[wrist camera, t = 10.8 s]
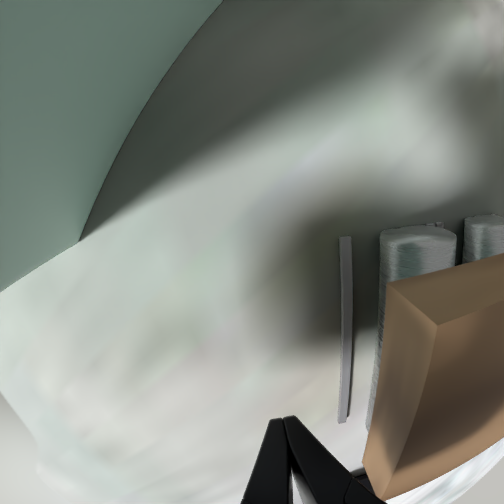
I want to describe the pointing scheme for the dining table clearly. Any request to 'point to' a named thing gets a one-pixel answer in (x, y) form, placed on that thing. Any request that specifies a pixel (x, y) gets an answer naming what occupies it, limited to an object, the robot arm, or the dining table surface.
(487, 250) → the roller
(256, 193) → the dining table surface
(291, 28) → the dining table surface
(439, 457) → the slab
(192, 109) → the dining table surface
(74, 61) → the planter
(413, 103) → the dining table surface
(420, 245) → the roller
